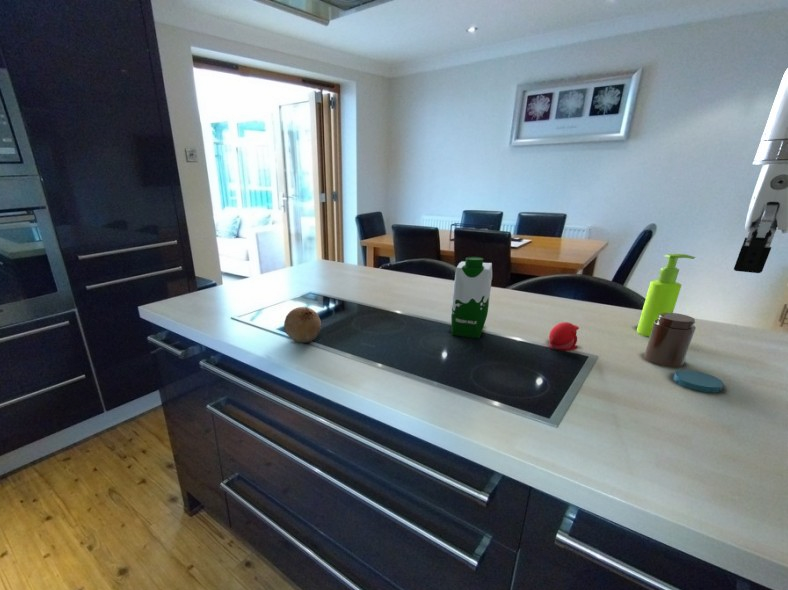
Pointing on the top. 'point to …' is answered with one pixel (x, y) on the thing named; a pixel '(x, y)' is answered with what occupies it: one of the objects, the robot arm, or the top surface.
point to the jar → (670, 339)
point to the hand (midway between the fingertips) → (748, 266)
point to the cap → (563, 337)
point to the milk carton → (471, 297)
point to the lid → (698, 381)
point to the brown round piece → (302, 324)
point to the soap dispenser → (661, 295)
